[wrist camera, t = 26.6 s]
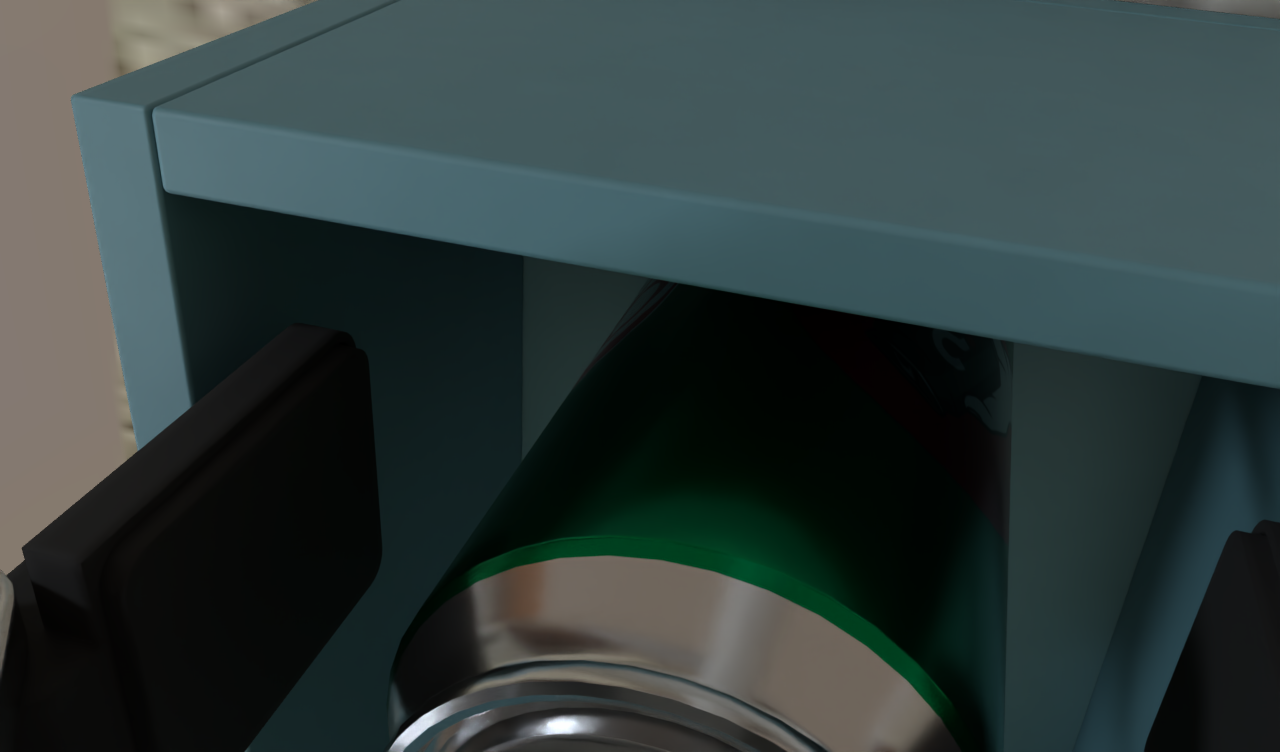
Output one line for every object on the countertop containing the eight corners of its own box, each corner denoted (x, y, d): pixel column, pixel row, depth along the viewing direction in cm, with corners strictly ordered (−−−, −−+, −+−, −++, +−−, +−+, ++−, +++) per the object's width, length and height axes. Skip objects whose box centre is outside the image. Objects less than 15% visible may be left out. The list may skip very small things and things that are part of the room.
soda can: (719, 81, 18) (309, 547, 8) (1058, 149, 17) (1103, 785, 7) (675, 366, 20) (326, 996, 10) (967, 439, 19) (900, 1212, 9)
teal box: (496, -71, 18) (66, 94, 10) (1371, 28, 16) (1747, 361, 7) (500, 662, 26) (258, 1091, 18) (1083, 813, 23) (1113, 1399, 15)
